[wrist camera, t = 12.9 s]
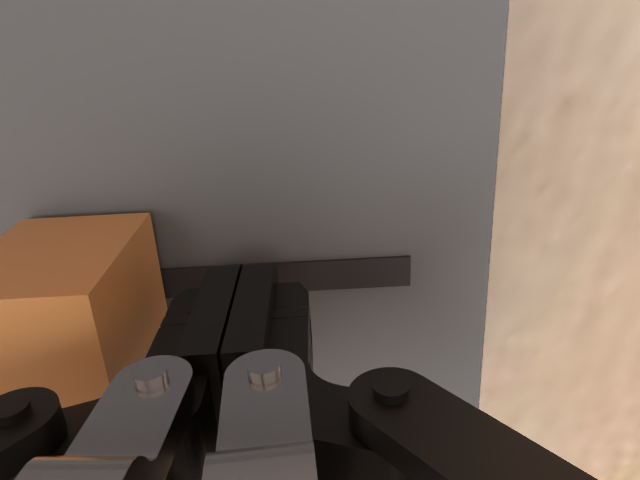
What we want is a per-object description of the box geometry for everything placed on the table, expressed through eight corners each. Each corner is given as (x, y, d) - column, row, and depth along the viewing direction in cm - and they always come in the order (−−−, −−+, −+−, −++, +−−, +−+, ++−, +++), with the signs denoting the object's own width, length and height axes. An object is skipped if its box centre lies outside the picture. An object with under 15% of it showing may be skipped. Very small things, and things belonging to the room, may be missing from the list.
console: (-440, -269, 12) (-670, -351, 9) (487, -323, 12) (542, -423, 9) (-145, 379, 19) (-227, 446, 16) (453, 348, 19) (479, 411, 16)
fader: (22, 219, 13) (-90, 304, 10) (149, 212, 13) (87, 294, 10) (61, 361, 15) (-21, 481, 11) (175, 355, 15) (130, 474, 11)
